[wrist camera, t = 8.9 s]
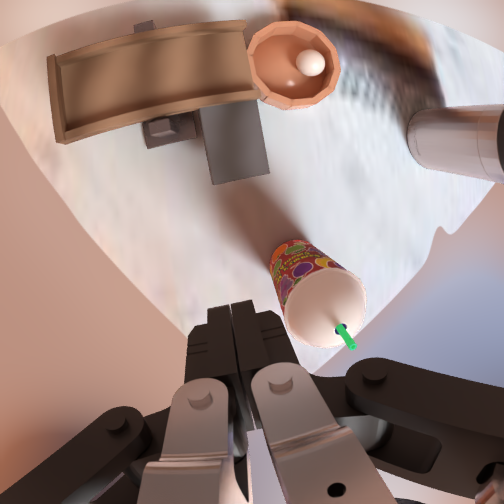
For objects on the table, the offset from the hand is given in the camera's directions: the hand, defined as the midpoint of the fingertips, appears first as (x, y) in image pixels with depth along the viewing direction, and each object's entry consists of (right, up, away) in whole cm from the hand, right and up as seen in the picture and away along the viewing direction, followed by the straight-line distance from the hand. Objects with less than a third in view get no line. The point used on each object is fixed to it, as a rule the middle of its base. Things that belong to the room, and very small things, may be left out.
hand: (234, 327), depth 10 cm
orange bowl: (+5, +25, +23) cm, 35 cm away
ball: (+8, +25, +21) cm, 34 cm away
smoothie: (+6, +1, +31) cm, 32 cm away
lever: (-9, +17, +19) cm, 27 cm away
